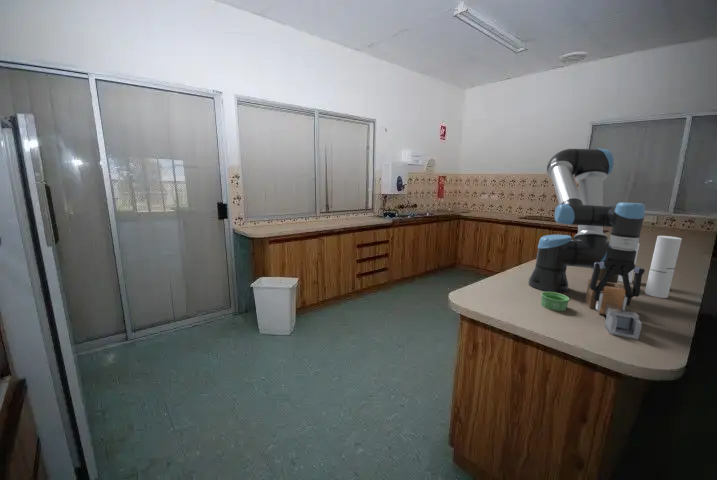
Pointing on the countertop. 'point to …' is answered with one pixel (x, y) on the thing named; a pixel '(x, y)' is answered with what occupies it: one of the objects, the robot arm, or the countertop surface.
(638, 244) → the milk
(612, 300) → the brown and grey block
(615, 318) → the sleeve
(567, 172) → the robot arm
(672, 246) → the cylindrical container
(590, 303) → the socket
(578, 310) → the countertop surface
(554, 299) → the ramekin
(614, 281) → the pillar candle
